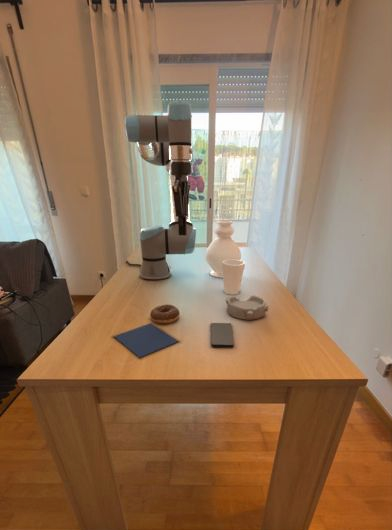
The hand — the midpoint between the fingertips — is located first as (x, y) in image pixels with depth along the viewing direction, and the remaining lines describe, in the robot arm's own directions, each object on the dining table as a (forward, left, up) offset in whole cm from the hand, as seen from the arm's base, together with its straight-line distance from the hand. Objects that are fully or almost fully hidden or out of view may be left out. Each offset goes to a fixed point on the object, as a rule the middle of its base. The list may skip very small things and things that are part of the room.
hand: (182, 234), depth 109 cm
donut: (+14, -20, -25) cm, 34 cm away
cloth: (+22, -33, -24) cm, 47 cm away
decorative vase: (-10, +33, -25) cm, 42 cm away
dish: (+30, +6, -25) cm, 39 cm away
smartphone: (+36, -13, -25) cm, 45 cm away
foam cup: (+11, +18, -25) cm, 32 cm away
